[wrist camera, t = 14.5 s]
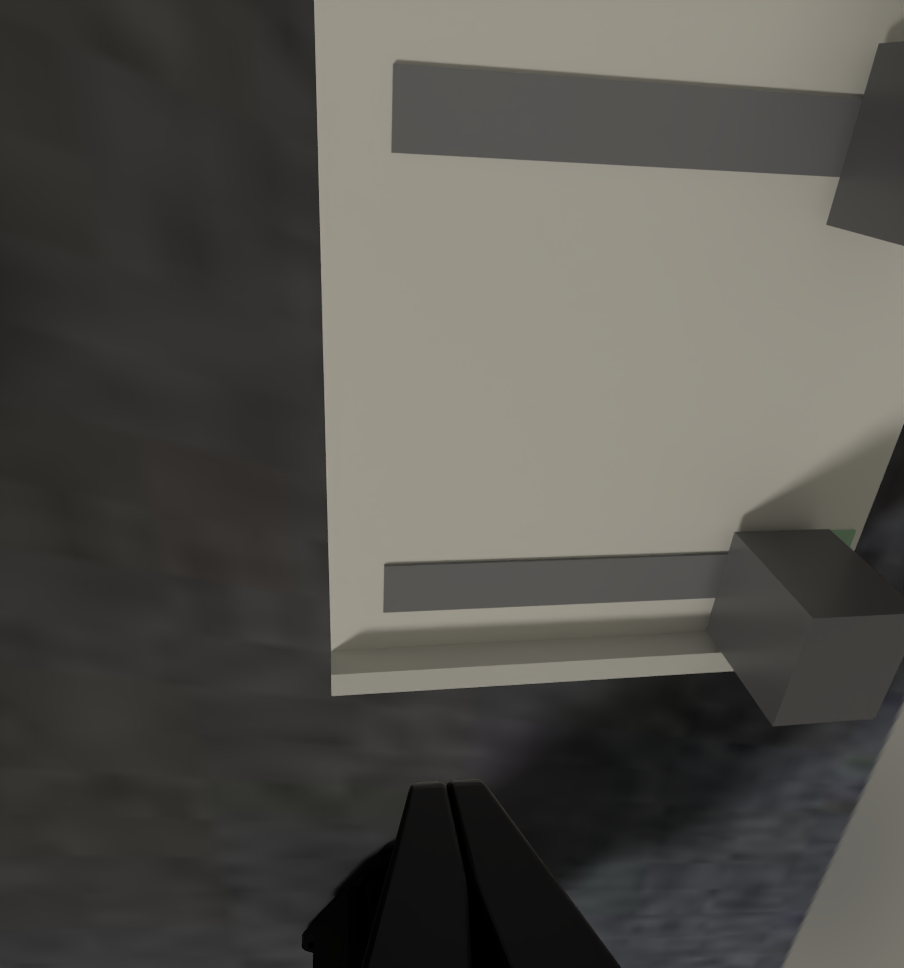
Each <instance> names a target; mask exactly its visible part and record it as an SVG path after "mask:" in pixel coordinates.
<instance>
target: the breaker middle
mask: <svg viewBox="0 0 904 968" xmlns="http://www.w3.org/2000/svg"><path fill="white" fill-rule="evenodd" d="M826 225H829V226H833V227H836V228H840V229H843V230H847V231H851V232H854V233H858V234H862V235H865V236H869V237H873V238H876V239H880V240H884V241H887V242H891V243H895V244H898V245H902V246H904V41H901V42H890V43H879V44H878V48H877V51H876V55H875V58H874V61H873V65H872V68H871V72H870V75H869V79H868V82H867V86H866V89H865V92H864V96H863V99H862V103H861V106H860V110H859V113H858V117H857V120H856V123H855V127H854V130H853V134H852V137H851V141H850V144H849V147H848V151H847V154H846V158H845V161H844V165H843V168H842V172H841V175H840V178H839V182H838V185H837V189H836V192H835V196H834V199H833V203H832V206H831V209H830V213H829V216H828V220H827V223H826Z"/></svg>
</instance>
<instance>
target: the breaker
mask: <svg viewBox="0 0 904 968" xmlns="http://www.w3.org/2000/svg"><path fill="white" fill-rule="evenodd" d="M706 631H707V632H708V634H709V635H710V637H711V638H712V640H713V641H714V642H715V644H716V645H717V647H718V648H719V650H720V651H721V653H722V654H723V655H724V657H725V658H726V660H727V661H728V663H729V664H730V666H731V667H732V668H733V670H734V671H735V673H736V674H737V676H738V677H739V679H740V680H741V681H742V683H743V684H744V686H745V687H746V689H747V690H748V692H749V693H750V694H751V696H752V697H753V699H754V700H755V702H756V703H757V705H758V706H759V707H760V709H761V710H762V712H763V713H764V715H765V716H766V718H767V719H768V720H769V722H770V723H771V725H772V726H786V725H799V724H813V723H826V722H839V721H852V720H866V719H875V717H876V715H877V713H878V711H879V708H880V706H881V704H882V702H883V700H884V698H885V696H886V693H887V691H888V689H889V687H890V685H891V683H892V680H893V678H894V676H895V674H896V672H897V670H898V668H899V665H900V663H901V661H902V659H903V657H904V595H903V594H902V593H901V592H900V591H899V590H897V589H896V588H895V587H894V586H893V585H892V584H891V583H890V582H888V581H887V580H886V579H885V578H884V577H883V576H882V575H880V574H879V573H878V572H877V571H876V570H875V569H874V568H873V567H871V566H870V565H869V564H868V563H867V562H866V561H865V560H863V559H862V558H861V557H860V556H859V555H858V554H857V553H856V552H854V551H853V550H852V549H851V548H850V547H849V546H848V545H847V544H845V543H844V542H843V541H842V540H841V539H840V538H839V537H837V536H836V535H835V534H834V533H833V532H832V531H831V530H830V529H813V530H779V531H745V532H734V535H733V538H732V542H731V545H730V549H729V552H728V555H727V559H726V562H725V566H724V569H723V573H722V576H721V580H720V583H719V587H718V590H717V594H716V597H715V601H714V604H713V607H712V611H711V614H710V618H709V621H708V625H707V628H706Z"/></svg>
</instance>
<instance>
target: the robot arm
mask: <svg viewBox="0 0 904 968" xmlns="http://www.w3.org/2000/svg"><path fill="white" fill-rule="evenodd" d="M302 948H303V949H304V950H305V951H308V952H312V953H313V968H621V967H620V965H619V964H618V963H617V961H616V960H615V959H614V957H613V956H612V955H611V953H610V952H609V951H608V949H607V948H606V946H605V945H604V944H603V942H602V941H601V940H600V938H599V937H598V936H597V934H596V933H595V932H594V930H593V929H592V927H591V926H590V925H589V923H588V922H587V921H586V919H585V918H584V917H583V915H582V914H581V913H580V911H579V910H578V908H577V907H576V906H575V904H574V903H573V902H572V900H571V899H570V898H569V896H568V895H567V894H566V892H565V891H564V889H563V888H562V887H561V885H560V884H559V883H558V881H557V880H556V879H555V877H554V876H553V875H552V873H551V872H550V870H549V869H548V868H547V866H546V865H545V864H544V862H543V861H542V860H541V858H540V857H539V856H538V854H537V853H536V851H535V850H534V849H533V847H532V846H531V845H530V843H529V842H528V841H527V839H526V838H525V837H524V835H523V834H522V832H521V831H520V830H519V828H518V827H517V826H516V824H515V823H514V822H513V820H512V819H511V818H510V816H509V815H508V813H507V812H506V811H505V809H504V808H503V807H502V805H501V804H500V803H499V801H498V800H497V799H496V797H495V796H494V794H493V793H492V792H491V790H490V789H489V788H488V786H487V785H486V784H485V783H484V782H483V781H482V780H480V779H461V780H452V781H449V782H448V784H447V786H446V784H445V783H444V782H442V781H430V782H416V783H413V784H412V785H411V787H410V789H409V792H408V796H407V800H406V803H405V807H404V811H403V814H402V818H401V822H400V825H399V829H398V833H397V837H396V840H395V844H394V848H393V849H390V850H385V851H383V852H381V853H380V854H379V855H378V856H377V857H376V858H375V859H374V860H373V861H372V862H371V863H370V864H369V865H368V866H367V867H366V868H365V869H364V870H363V871H362V872H361V873H360V874H359V875H358V877H357V878H356V879H355V880H354V881H353V882H352V883H351V884H350V885H349V886H348V887H347V888H346V889H345V890H344V891H343V892H342V893H341V894H340V895H339V896H338V897H337V898H336V899H335V900H334V901H333V902H332V903H331V905H330V906H329V907H328V908H327V909H326V910H325V911H324V912H323V913H322V914H321V915H320V916H319V917H318V918H317V919H316V920H315V921H314V922H313V923H312V924H311V925H310V926H309V927H308V928H307V929H306V930H305V931H304V933H303V934H302Z"/></svg>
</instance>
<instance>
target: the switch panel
mask: <svg viewBox="0 0 904 968" xmlns="http://www.w3.org/2000/svg"><path fill="white" fill-rule="evenodd" d="M314 14H315V52H316V90H317V128H318V167H319V205H320V243H321V281H322V320H323V358H324V396H325V434H326V473H327V511H328V549H329V587H330V626H331V689H332V696H340V695H356V694H372V693H389V692H405V691H421V690H437V689H453V688H469V687H485V686H501V685H518V684H534V683H550V682H566V681H582V680H598V679H614V678H630V677H647V676H663V675H679V674H695V673H711V672H727V671H734V670H733V668H732V667H731V666H730V664H729V663H728V661H727V660H726V658H725V657H724V655H723V654H722V653H721V651H720V650H719V648H718V647H717V645H716V644H715V642H714V641H713V640H712V638H711V637H710V635H709V634H708V632H707V631H706V628H707V625H708V621H709V618H710V614H711V611H712V607H713V604H714V601H715V597H716V594H717V590H718V587H719V583H720V580H721V576H722V573H723V569H724V566H725V562H726V559H727V555H728V552H729V549H730V545H731V542H732V538H733V535H734V532H745V531H779V530H813V529H830V530H831V531H832V532H833V533H834V534H835V535H836V536H837V537H839V538H840V539H841V540H842V541H843V542H844V543H845V544H847V545H848V546H849V547H850V548H851V549H852V550H853V551H855V548H856V546H857V543H858V541H859V538H860V536H861V533H862V530H863V528H864V525H865V523H866V520H867V517H868V515H869V512H870V510H871V507H872V505H873V502H874V499H875V497H876V494H877V492H878V489H879V487H880V484H881V481H882V479H883V476H884V474H885V471H886V468H887V466H888V463H889V461H890V458H891V456H892V453H893V450H894V448H895V445H896V443H897V440H898V437H899V435H900V432H901V430H902V427H903V425H904V246H902V245H898V244H895V243H891V242H887V241H884V240H880V239H876V238H873V237H869V236H865V235H862V234H858V233H854V232H851V231H847V230H843V229H840V228H836V227H833V226H829V225H826V223H827V220H828V216H829V213H830V209H831V206H832V203H833V199H834V196H835V192H836V189H837V185H838V182H839V178H840V175H841V172H842V168H843V165H844V161H845V158H846V154H847V151H848V147H849V144H850V141H851V137H852V134H853V130H854V127H855V123H856V120H857V117H858V113H859V110H860V106H861V103H862V99H863V96H864V92H865V89H866V86H867V82H868V79H869V75H870V72H871V68H872V65H873V61H874V58H875V55H876V51H877V48H878V44H879V43H890V42H901V41H904V0H314Z"/></svg>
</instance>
